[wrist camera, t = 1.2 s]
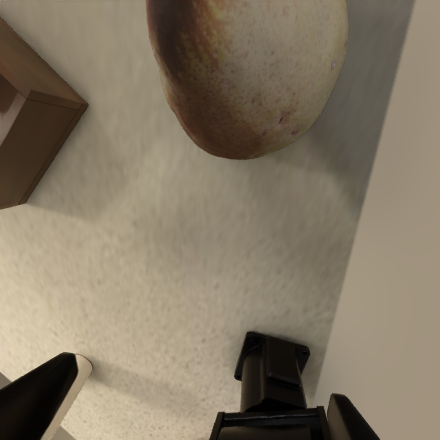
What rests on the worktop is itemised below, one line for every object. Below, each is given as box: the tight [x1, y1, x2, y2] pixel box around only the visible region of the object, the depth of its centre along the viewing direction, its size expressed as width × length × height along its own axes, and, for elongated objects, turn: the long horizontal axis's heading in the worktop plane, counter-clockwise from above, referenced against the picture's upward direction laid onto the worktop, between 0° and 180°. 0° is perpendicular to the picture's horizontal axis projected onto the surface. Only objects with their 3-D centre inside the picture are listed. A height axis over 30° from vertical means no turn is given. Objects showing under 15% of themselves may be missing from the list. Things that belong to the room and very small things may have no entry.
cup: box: [41, 355, 92, 440], centre depth 23 cm, size 5×5×12 cm
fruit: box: [146, 0, 349, 160], centre depth 11 cm, size 10×9×12 cm
